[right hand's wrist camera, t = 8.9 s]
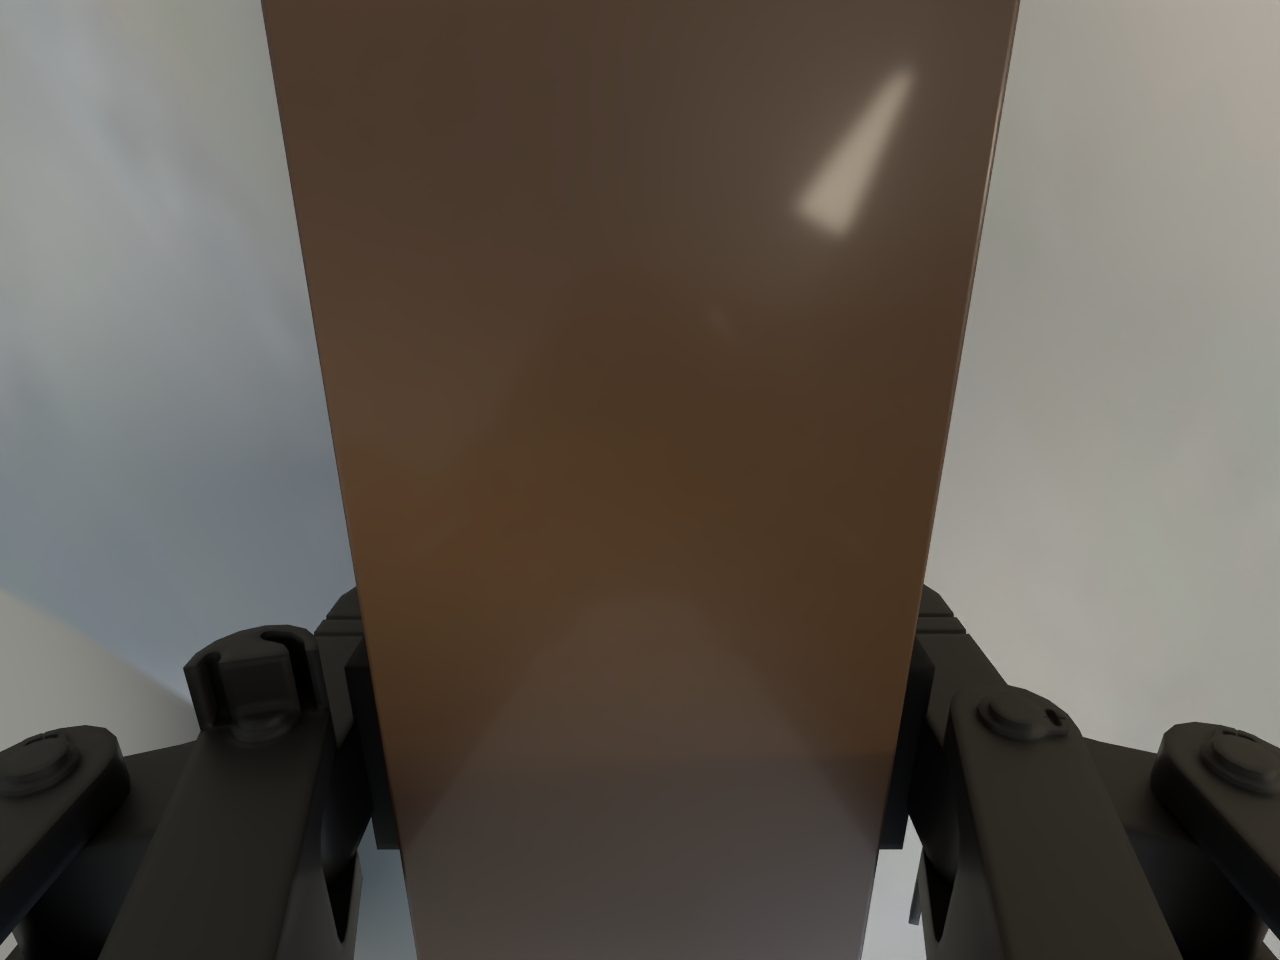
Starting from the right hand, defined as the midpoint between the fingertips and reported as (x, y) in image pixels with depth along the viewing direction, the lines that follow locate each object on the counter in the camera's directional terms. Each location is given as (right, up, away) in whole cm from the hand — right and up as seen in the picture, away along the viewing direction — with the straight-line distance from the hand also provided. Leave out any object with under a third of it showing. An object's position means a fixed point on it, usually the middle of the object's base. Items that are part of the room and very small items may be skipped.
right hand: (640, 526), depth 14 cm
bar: (0, +33, -12) cm, 36 cm away
